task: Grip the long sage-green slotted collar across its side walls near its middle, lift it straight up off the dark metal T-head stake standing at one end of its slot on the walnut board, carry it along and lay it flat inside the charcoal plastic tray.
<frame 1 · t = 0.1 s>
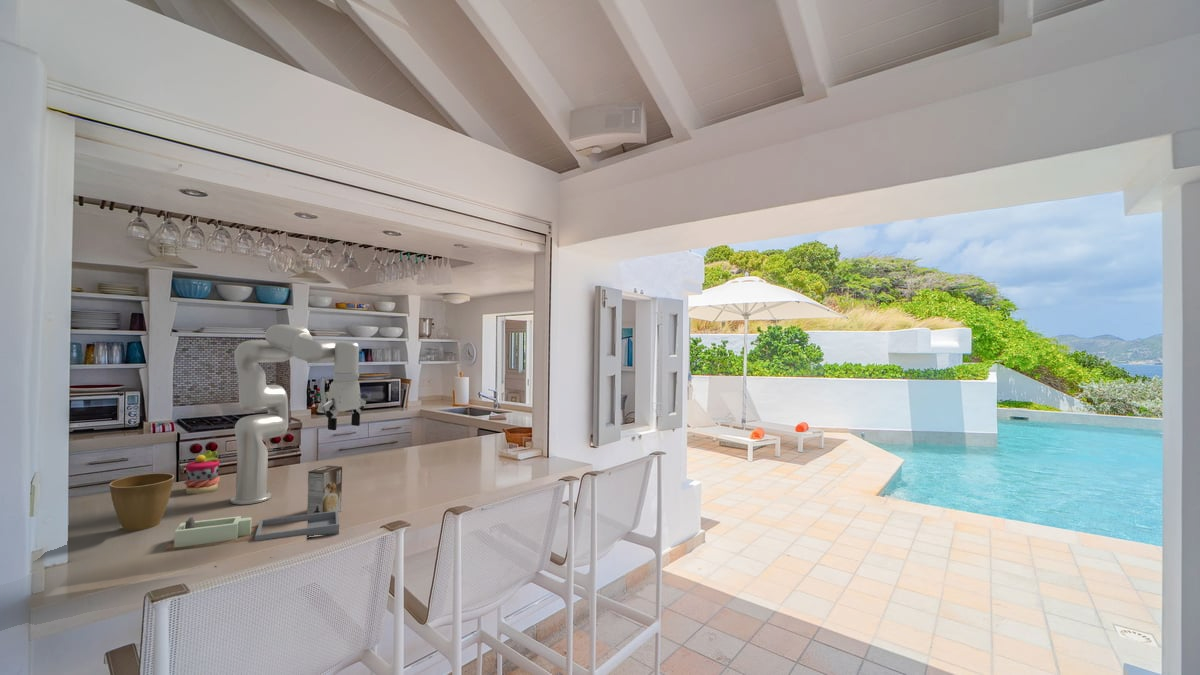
hand: (344, 427, 171), 31 cm above the breakfast bar, tool pointing down, fingers open, 9 cm apart
plant pot: (140, 531, 155), on the breakfast bar
tray: (299, 531, 158), on the breakfast bar
collar: (208, 538, 147), point 1 cm above the breakfast bar, touching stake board
coffee box: (324, 515, 174), on the breakfast bar
cake: (201, 491, 196), on the breakfast bar
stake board: (212, 543, 148), on the breakfast bar
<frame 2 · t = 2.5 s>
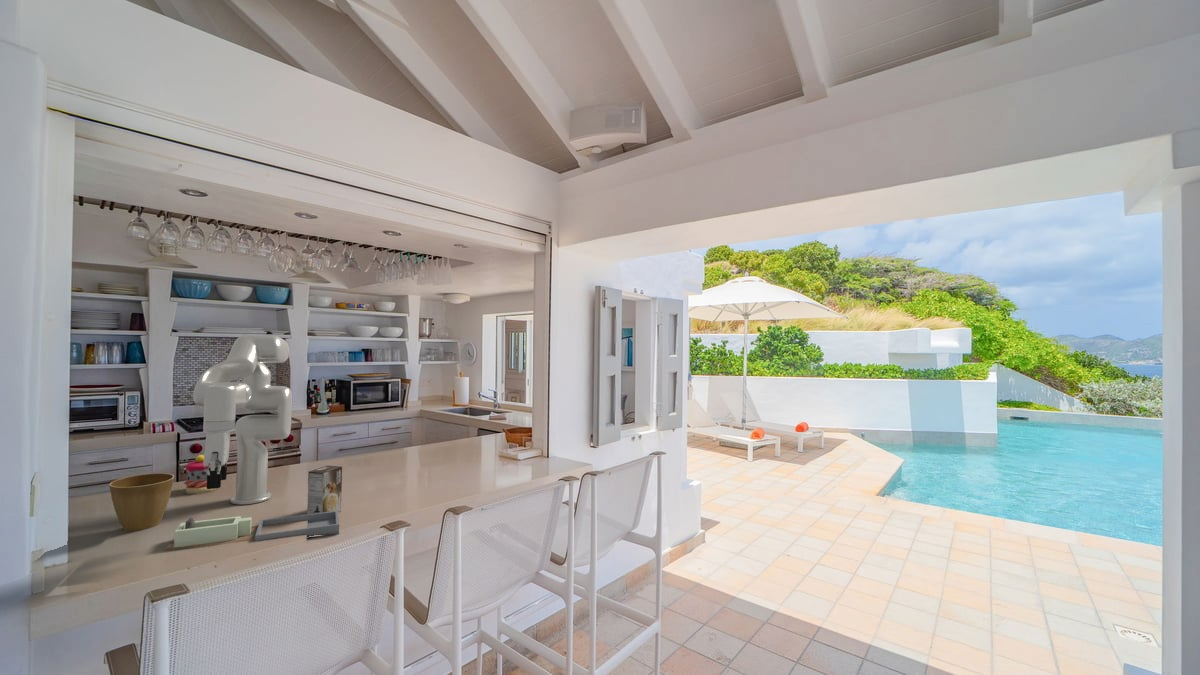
hand: (216, 484, 148), 18 cm above the breakfast bar, tool pointing down, fingers open, 9 cm apart
nothing on the breakfast bar moved.
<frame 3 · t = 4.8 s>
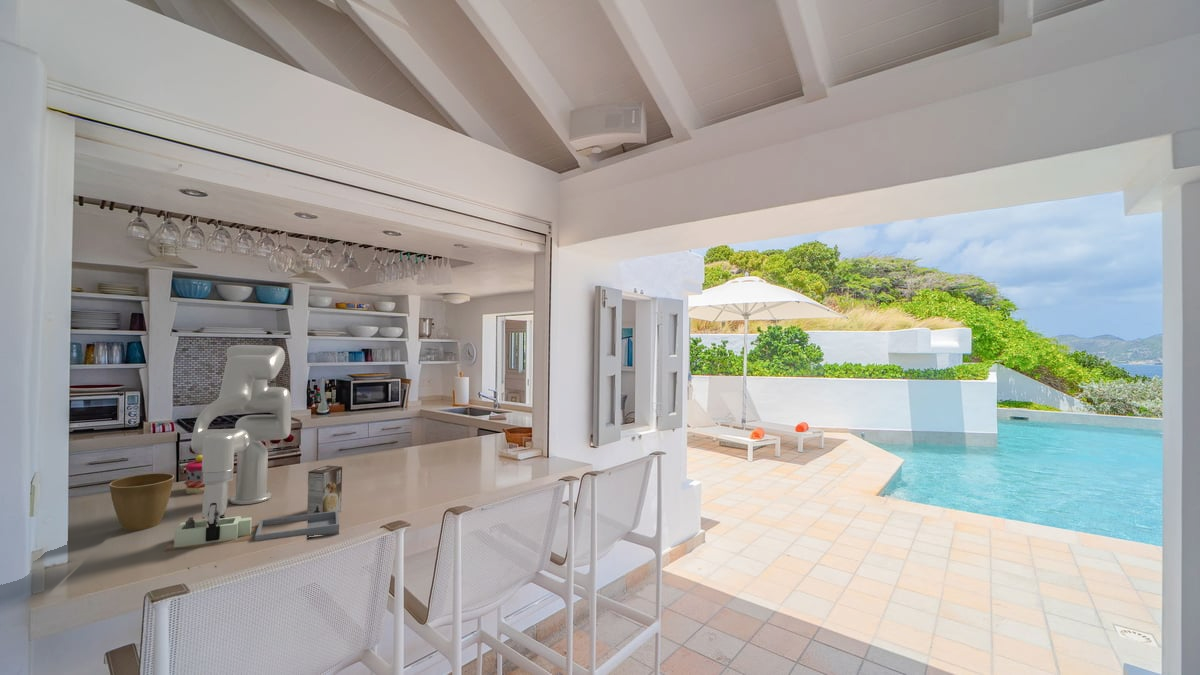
hand: (215, 534, 148), 2 cm above the breakfast bar, tool pointing down, fingers closed on collar, 7 cm apart
collar: (208, 538, 147), point 2 cm above the breakfast bar, touching gripper, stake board
everything else where it was.
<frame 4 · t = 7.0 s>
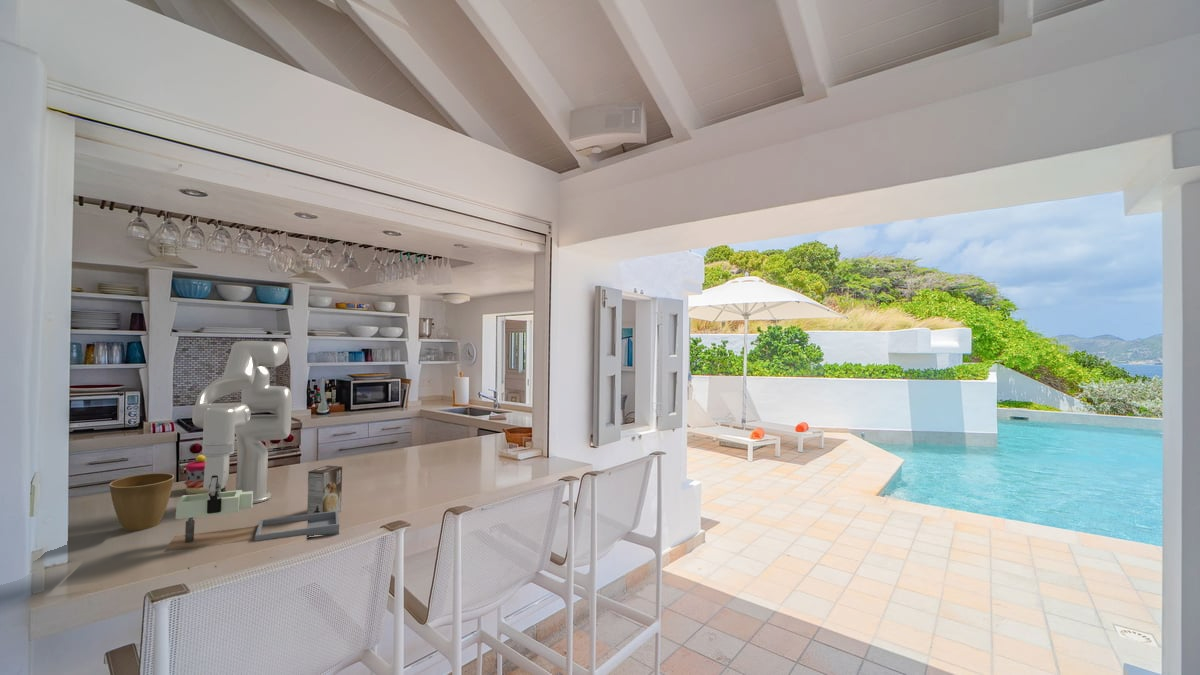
hand: (216, 507, 148), 10 cm above the breakfast bar, tool pointing down, fingers closed on collar, 7 cm apart
collar: (210, 511, 148), point 9 cm above the breakfast bar, touching gripper
everything else where it was.
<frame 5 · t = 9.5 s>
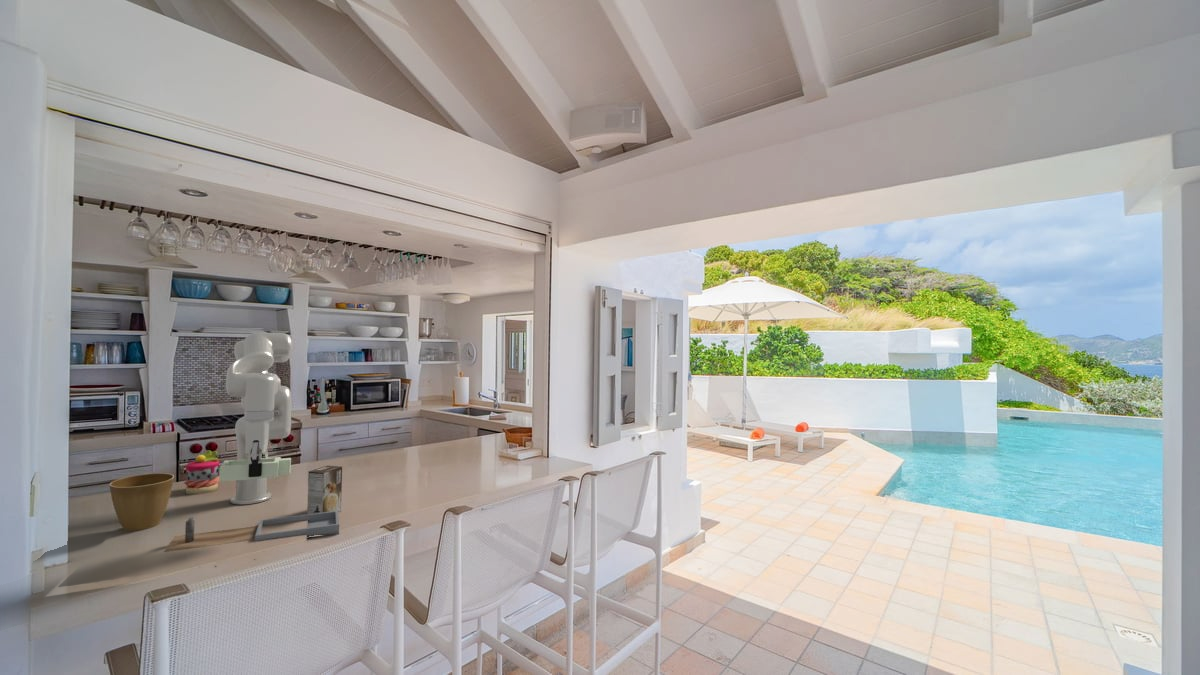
hand: (257, 472, 153), 20 cm above the breakfast bar, tool pointing down, fingers closed on collar, 7 cm apart
collar: (250, 476, 152), point 19 cm above the breakfast bar, touching gripper
everything else where it was.
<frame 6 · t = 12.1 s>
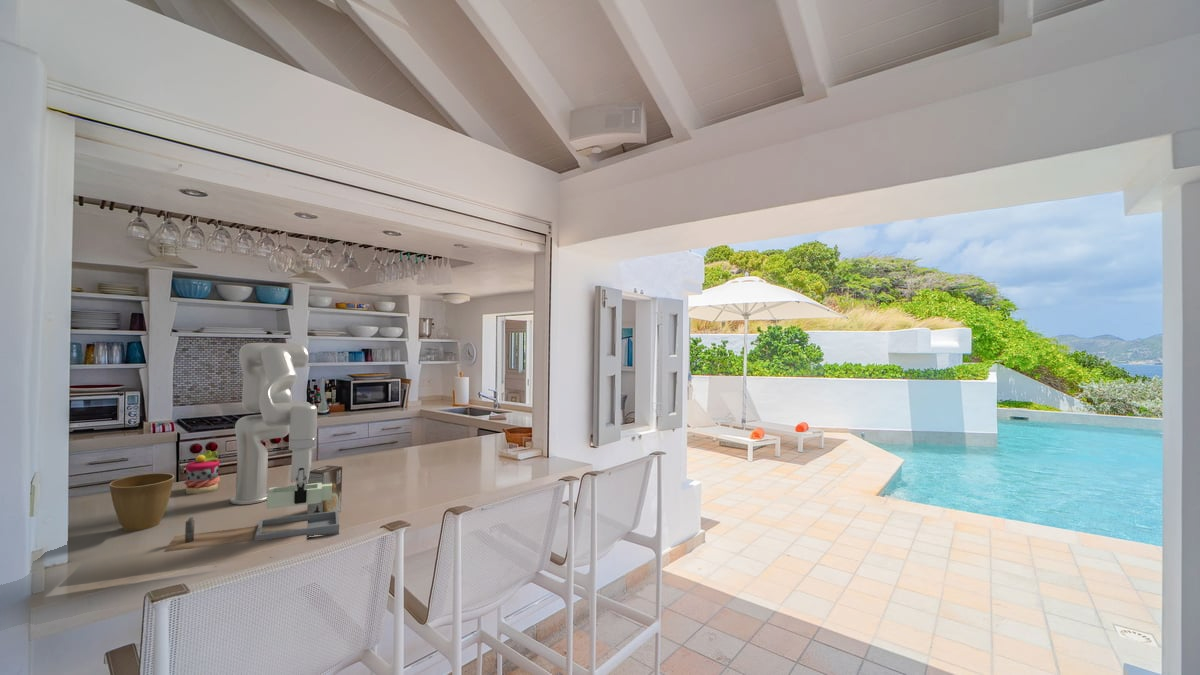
hand: (300, 499, 158), 10 cm above the breakfast bar, tool pointing down, fingers closed on collar, 7 cm apart
collar: (295, 502, 158), point 10 cm above the breakfast bar, touching gripper
everything else where it was.
when the fingers open (3 cm above the breakfast bar, at t = 14.5 s): collar drops 1 cm, resting on tray.
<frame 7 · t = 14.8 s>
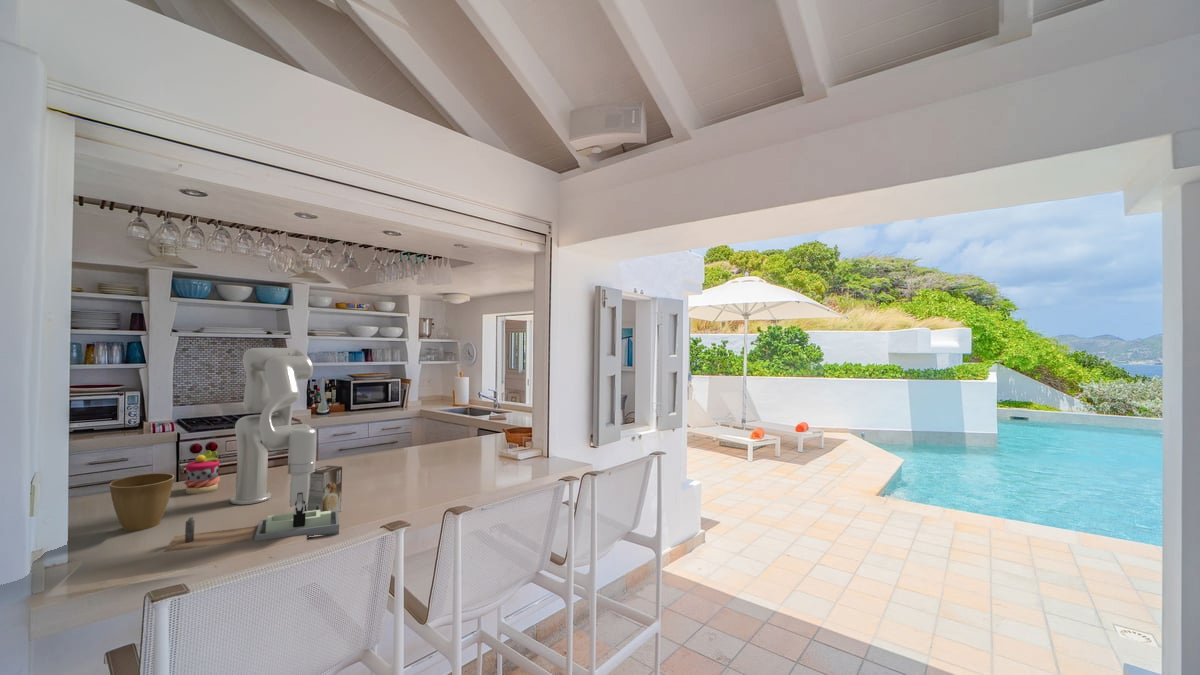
hand: (299, 521, 158), 3 cm above the breakfast bar, tool pointing down, fingers open, 9 cm apart
collar: (293, 530, 158), point 1 cm above the breakfast bar, touching tray
everything else where it was.
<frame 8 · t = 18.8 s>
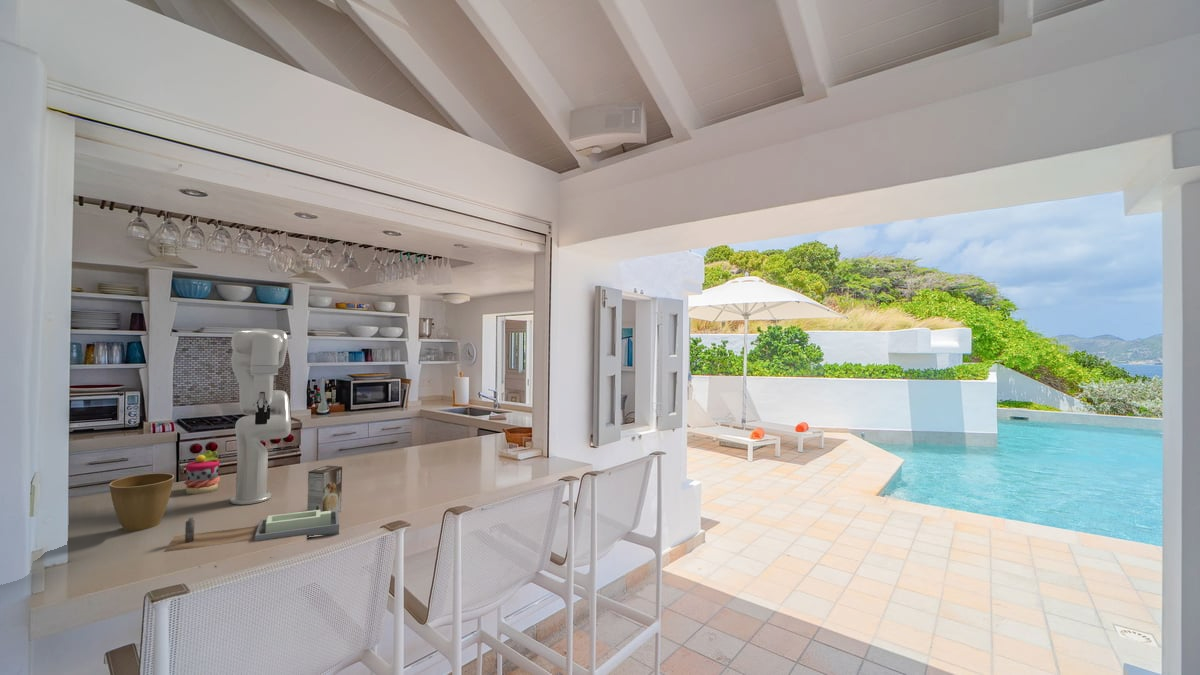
hand: (262, 421, 165), 33 cm above the breakfast bar, tool pointing down, fingers open, 9 cm apart
nothing on the breakfast bar moved.
at the end: collar 0.0 cm from the target spot on the tray, point 0.6 cm above the tray's base; collar tilted 0° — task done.
